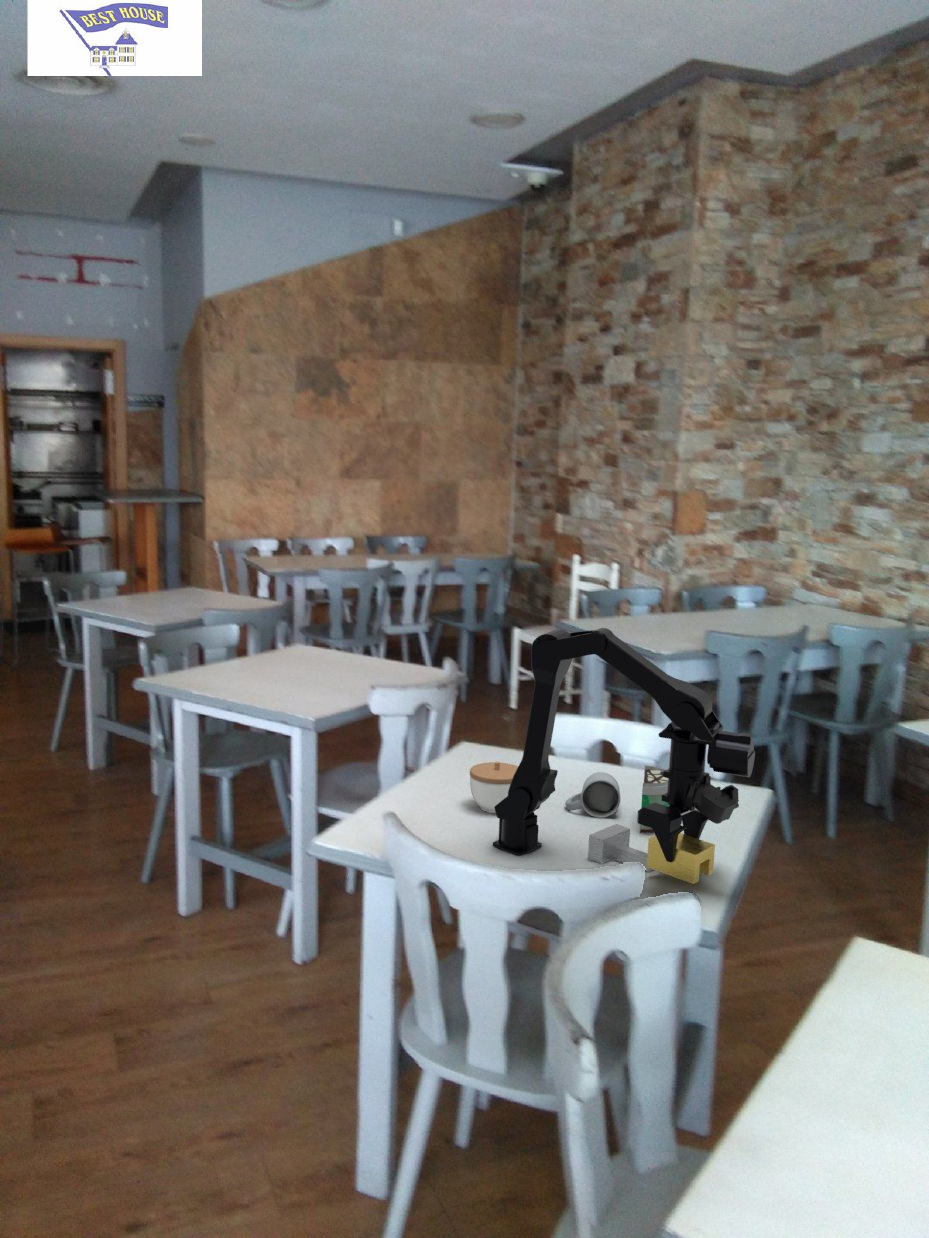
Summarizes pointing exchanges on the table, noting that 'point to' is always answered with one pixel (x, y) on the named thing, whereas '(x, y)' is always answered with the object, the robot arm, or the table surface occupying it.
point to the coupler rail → (614, 846)
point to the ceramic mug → (597, 796)
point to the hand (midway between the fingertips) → (680, 856)
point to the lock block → (683, 858)
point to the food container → (653, 790)
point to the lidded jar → (491, 783)
